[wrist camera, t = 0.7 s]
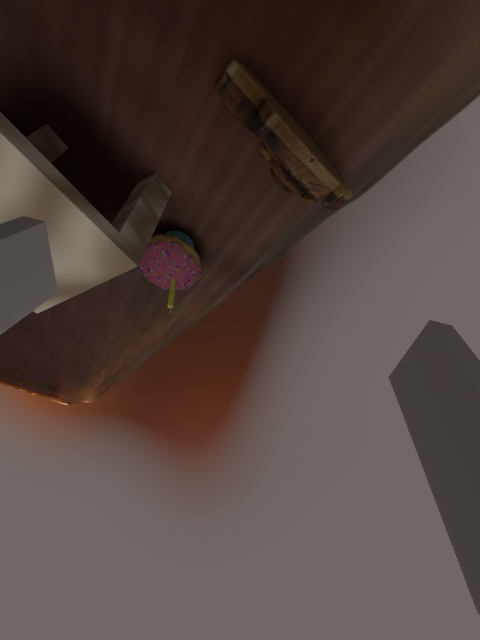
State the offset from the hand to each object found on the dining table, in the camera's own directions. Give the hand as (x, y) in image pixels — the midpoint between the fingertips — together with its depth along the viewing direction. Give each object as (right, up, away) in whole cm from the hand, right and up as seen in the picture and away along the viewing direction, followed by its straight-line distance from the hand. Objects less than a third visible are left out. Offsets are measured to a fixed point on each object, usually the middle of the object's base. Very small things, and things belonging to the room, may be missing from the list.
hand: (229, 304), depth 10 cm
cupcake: (-9, +11, +33) cm, 36 cm away
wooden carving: (+6, +19, +20) cm, 29 cm away
